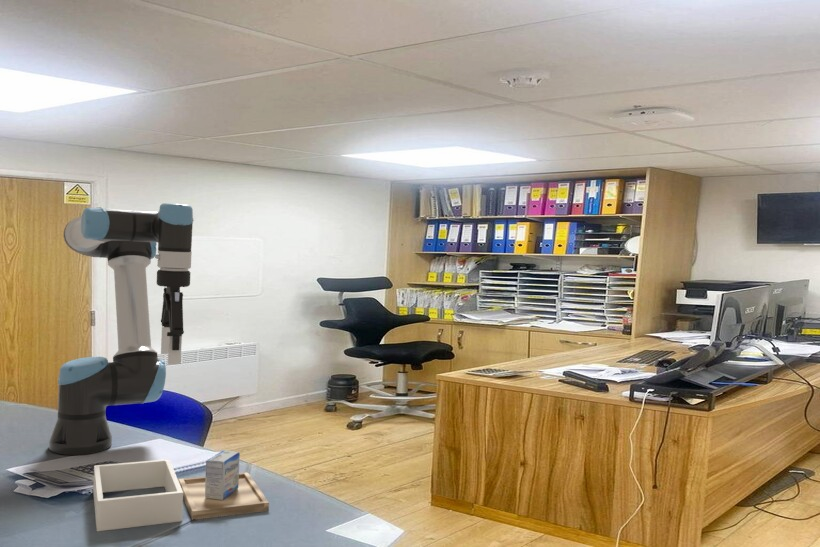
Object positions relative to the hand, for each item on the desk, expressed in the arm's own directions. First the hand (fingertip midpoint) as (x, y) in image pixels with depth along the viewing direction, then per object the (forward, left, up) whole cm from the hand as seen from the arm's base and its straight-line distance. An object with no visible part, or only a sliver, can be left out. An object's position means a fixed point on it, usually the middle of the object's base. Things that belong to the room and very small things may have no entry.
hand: (170, 358), depth 167 cm
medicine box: (+17, +10, -28) cm, 34 cm away
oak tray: (+17, +10, -29) cm, 35 cm away
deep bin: (+16, -8, -29) cm, 34 cm away
